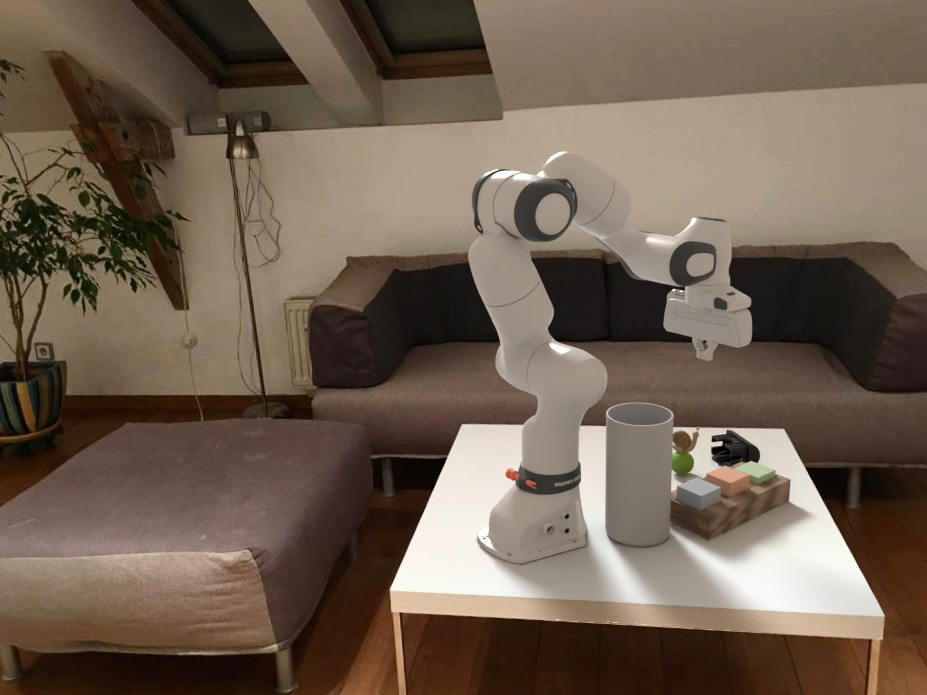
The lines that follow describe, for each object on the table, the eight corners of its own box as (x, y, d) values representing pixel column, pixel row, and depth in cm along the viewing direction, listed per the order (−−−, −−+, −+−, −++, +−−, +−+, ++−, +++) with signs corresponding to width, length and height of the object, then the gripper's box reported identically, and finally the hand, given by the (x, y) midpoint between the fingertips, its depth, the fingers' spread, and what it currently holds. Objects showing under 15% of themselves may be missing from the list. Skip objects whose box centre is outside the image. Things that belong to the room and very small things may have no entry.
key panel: (708, 540, 160) (709, 517, 159) (660, 518, 169) (661, 495, 168) (789, 501, 174) (790, 479, 173) (740, 482, 184) (742, 461, 182)
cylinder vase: (624, 511, 173) (625, 398, 166) (680, 528, 165) (684, 410, 158) (593, 536, 163) (593, 417, 156) (651, 555, 156) (654, 430, 149)
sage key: (756, 495, 172) (758, 477, 171) (732, 485, 177) (733, 468, 176) (774, 487, 175) (775, 469, 174) (750, 478, 180) (751, 461, 179)
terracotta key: (729, 501, 167) (730, 483, 166) (705, 491, 171) (706, 473, 170) (748, 492, 170) (749, 474, 169) (724, 483, 175) (724, 465, 174)
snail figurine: (692, 481, 185) (694, 431, 182) (665, 475, 189) (666, 425, 186) (701, 472, 189) (703, 423, 186) (674, 466, 193) (676, 418, 190)
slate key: (700, 514, 162) (701, 496, 161) (676, 504, 166) (676, 485, 165) (720, 505, 165) (721, 487, 164) (695, 495, 170) (696, 477, 169)
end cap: (759, 471, 189) (761, 443, 187) (731, 475, 188) (732, 447, 186) (736, 454, 198) (738, 428, 197) (709, 458, 197) (710, 431, 195)
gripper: (658, 290, 178) (656, 351, 182) (738, 305, 162) (735, 372, 166) (677, 285, 181) (675, 346, 185) (758, 300, 165) (754, 366, 169)
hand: (704, 359), depth 175 cm, fingers closed
